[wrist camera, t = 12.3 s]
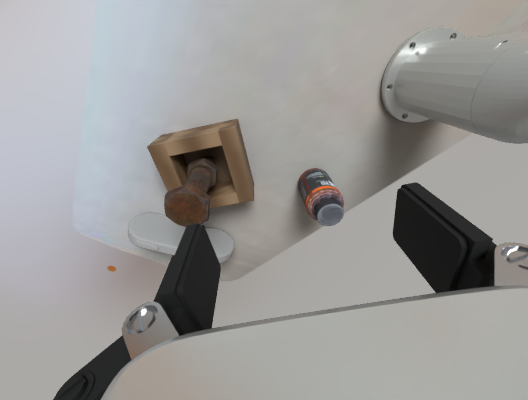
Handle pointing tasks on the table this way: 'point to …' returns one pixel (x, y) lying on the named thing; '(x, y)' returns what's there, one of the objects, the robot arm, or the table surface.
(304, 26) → the table surface
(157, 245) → the game controller
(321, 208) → the supplement bottle
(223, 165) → the socket block
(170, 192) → the bolt
